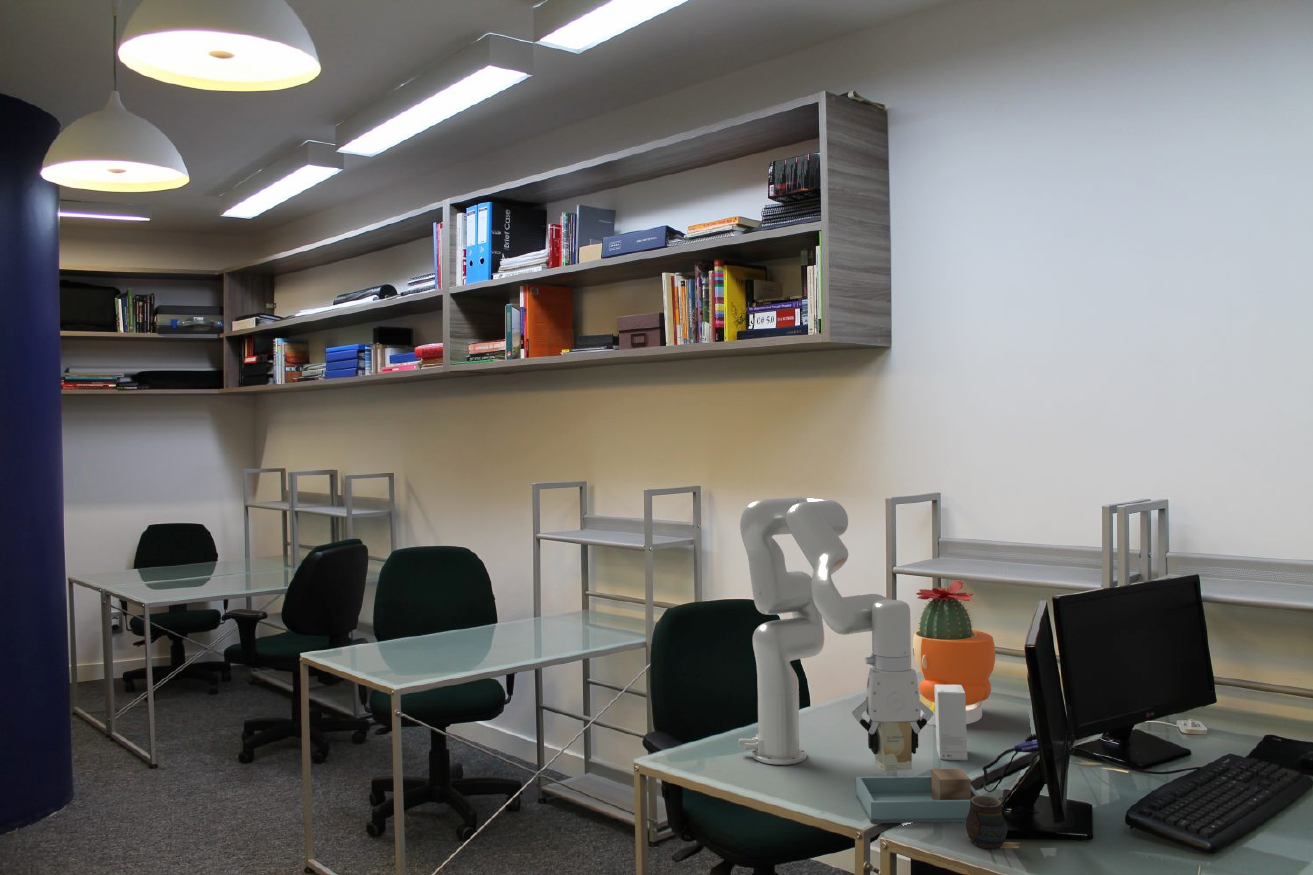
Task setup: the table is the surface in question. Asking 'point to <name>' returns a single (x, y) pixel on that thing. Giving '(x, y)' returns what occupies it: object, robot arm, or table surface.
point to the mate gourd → (986, 822)
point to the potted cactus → (952, 650)
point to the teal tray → (907, 800)
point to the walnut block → (950, 785)
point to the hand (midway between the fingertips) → (893, 751)
